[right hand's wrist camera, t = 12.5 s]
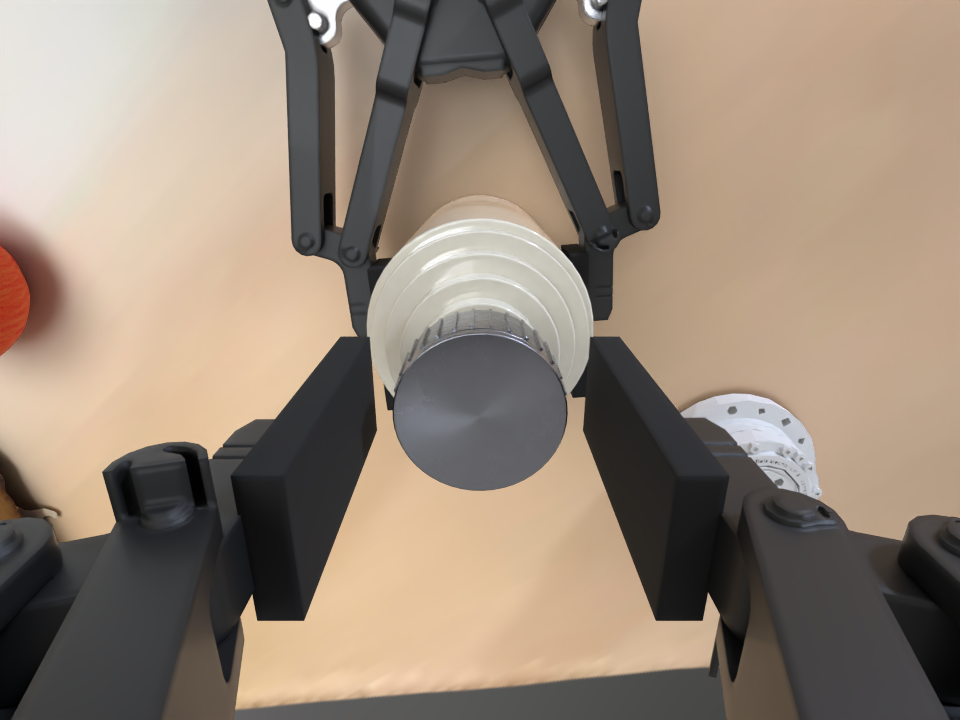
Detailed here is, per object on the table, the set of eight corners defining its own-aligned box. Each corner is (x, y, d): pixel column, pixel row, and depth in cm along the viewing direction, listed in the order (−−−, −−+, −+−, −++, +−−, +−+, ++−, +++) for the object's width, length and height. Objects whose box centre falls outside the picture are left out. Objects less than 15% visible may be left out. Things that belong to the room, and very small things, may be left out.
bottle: (382, 270, 30) (252, 415, 13) (476, 163, 28) (471, 166, 11) (483, 358, 32) (486, 589, 15) (578, 264, 30) (709, 402, 13)
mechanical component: (721, 360, 32) (612, 478, 35) (757, 390, 28) (630, 521, 31) (836, 446, 34) (724, 551, 37) (885, 485, 30) (755, 600, 33)
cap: (369, 386, 14) (352, 420, 13) (476, 272, 13) (475, 291, 11) (483, 477, 15) (483, 522, 14) (590, 379, 14) (607, 412, 12)
